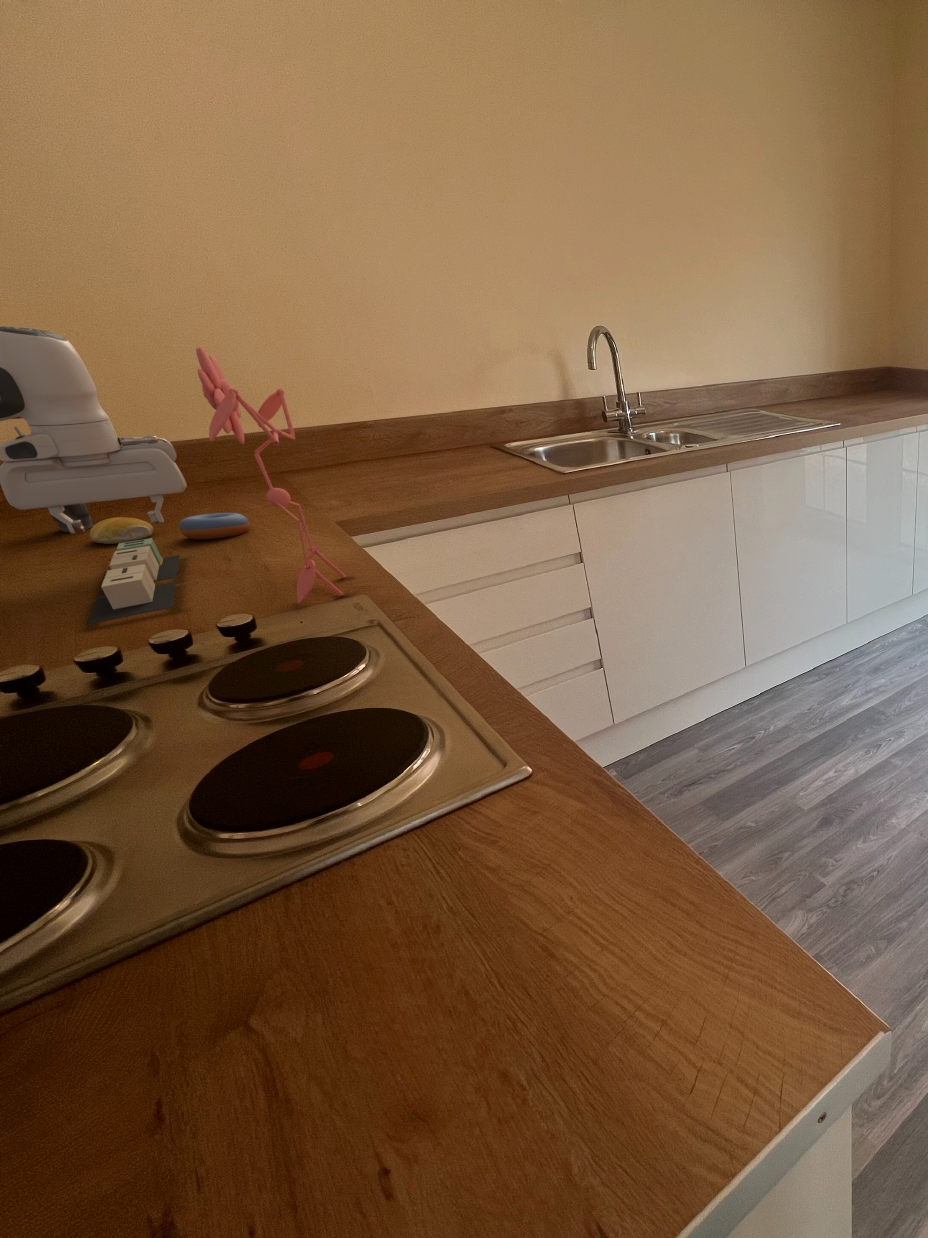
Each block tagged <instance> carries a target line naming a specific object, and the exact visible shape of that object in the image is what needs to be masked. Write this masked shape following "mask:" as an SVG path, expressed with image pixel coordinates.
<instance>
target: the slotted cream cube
mask: <svg viewBox="0 0 928 1238" xmlns="http://www.w3.org/2000/svg"><path fill="white" fill-rule="evenodd" d="M143 564H145V566H146V568H147V570H148V572H149V574H150V576H151V578H152V580H153V581H156V580H157V575H158V573H157V571H156V569H155V567H154V565H153V563H152V560H151V558H150V556H149V554H148V553H143V554H137V555H130V556H124V557H118V558H113V557H112V558H111V561H110V563H109V564H108V565H109V566H108V567H110V568H111V569H112V570H113V569H119V568H125V567H131V566H137V565H143ZM156 582H157V581H156Z"/></svg>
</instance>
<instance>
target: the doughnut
mask: <svg viewBox="0 0 928 1238" xmlns="http://www.w3.org/2000/svg"><path fill="white" fill-rule="evenodd" d="M249 522H250V521H249V519H248V518H247V517H246V516H245V515H243V514H241V513H237V512H215V513H214V512H213V513H205V514H197V515H192V516H188V517H185V518H183V519H182V520H180V522H179V524H178V526H179V531H180V533H181V534H182V536H183V537H186V538H188V539H191V540H198V541H199V540H204V541H205V540H217V539H227V538H233V537H238V536H239V535H243V534H245V533H247V532H248V531H249V529H250V523H249Z"/></svg>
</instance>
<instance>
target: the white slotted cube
mask: <svg viewBox="0 0 928 1238" xmlns="http://www.w3.org/2000/svg"><path fill="white" fill-rule="evenodd" d="M107 570H108V569H107ZM140 572H143V573H144V575H145V577H146V579H147V581H148V583H149V585H150V587H151V589H152V591H153V593H154V589H155V586H156V584H155V582H153V580H152V578H151V576H150V574H149V572H148V570H147V568H146V566H145V564H143V565H137V566H131V567H125V568H119V569H113V570H108V571H106V573H105V575H104V578H111V577H117V576H122V575H128V574H134V573H140Z"/></svg>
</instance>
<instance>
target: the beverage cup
mask: <svg viewBox="0 0 928 1238" xmlns="http://www.w3.org/2000/svg"><path fill="white" fill-rule="evenodd" d="M13 429H14V430H15V432H16V433H17V434H18V437H19V436H22V435H24V434H23V433H22V432H21V430H20V429H19V427H18V426H13ZM63 507H64V509H65V510H64V511H63V512H62V513H63V514H65V515H66V516H68V517H69V518H71V519H72V520H73V521H75V520H81V522H82V526H84V528H85V530H87V529H92V528H93V526H94V524H93V520H92V517H91V514H90V512H89V509H88V507H87V503H82V504H73V505H64V506H63ZM45 509H46V510H47V512H48V513H49V514H50V512H49V510H48V508H47V507H46V508H45ZM50 516H51V517H52V519H53V520H54V522H55V523H56V524H57V526H58V527H59V528H60V530H61V531H62V532H64V533H66V532H67V533H70V531H69V529H68V527H67V525H66V524H65V523H63V522H61V521H60V520H58V519H57V518H55V517H54V516H52V515H51V514H50Z"/></svg>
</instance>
